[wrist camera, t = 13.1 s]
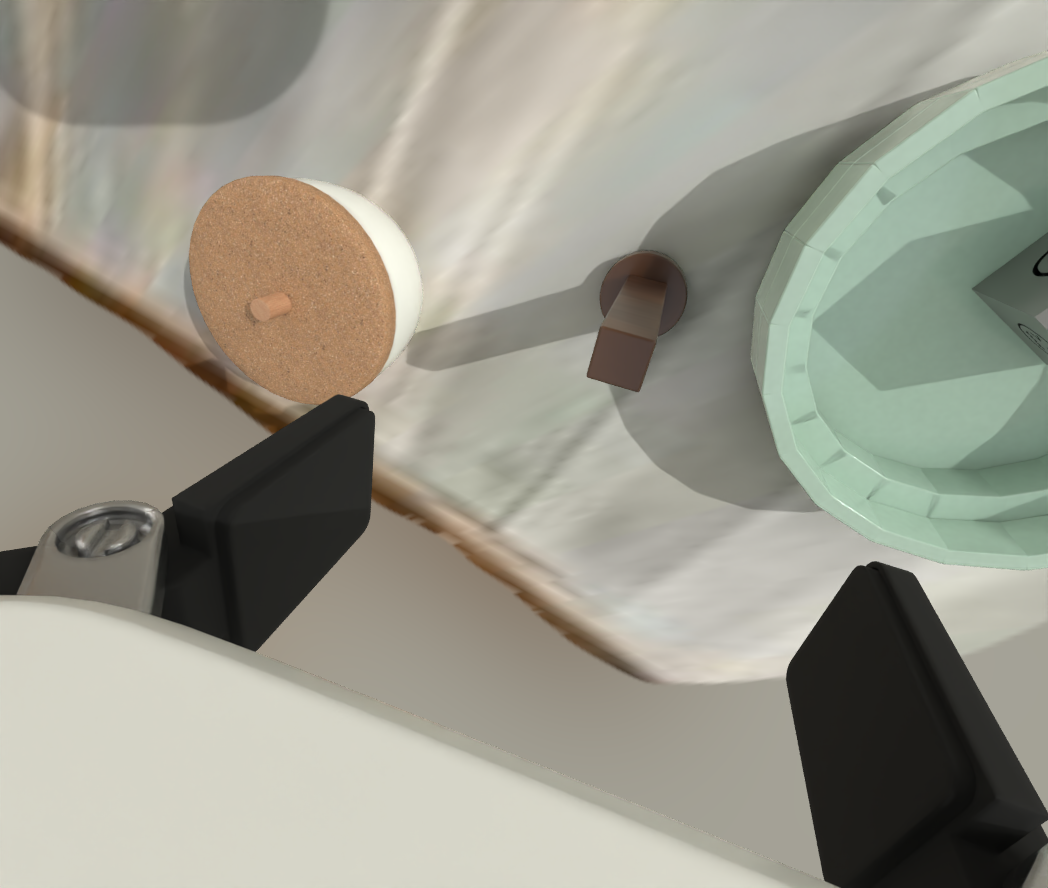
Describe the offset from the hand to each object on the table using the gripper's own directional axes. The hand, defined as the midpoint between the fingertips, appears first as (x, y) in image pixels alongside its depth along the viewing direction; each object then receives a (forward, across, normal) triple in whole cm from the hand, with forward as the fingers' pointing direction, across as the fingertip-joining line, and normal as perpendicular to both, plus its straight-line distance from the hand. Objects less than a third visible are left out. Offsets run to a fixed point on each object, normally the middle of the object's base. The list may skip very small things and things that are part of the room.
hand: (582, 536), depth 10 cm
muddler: (+21, 0, 0) cm, 21 cm away
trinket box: (+21, +16, +2) cm, 27 cm away
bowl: (+21, -14, -3) cm, 26 cm away
